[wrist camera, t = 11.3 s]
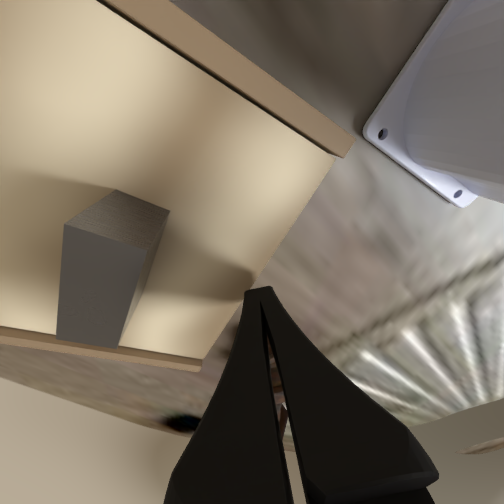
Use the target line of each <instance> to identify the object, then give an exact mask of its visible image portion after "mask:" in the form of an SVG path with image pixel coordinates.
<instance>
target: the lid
mask: <svg viewBox="0 0 504 504" xmlns="http://www.w3.org/2000/svg"><path fill="white" fill-rule="evenodd" d="M335 160H336V159H335V158H334V157H332V156H331V155H329V154H328V153H326V152H325V151H323V150H322V149H320V148H319V147H317V146H316V145H314V144H313V143H311V142H310V141H308V140H307V139H305V138H304V137H302V136H301V135H299V134H298V133H296V132H295V131H293V130H292V129H290V128H289V127H287V126H285V125H284V124H282V123H281V122H279V121H278V120H276V119H275V118H273V117H272V116H270V115H269V114H267V113H266V112H264V111H263V110H261V109H260V108H258V107H257V106H255V105H254V104H252V103H251V102H249V101H248V100H246V99H245V98H243V97H242V96H240V95H238V94H237V93H235V92H234V91H232V90H231V89H229V88H228V87H226V86H225V85H223V84H222V83H220V82H219V81H217V80H216V79H214V78H213V77H211V76H210V75H208V74H207V73H205V72H204V71H202V70H201V69H199V68H198V67H196V66H195V65H193V64H192V63H190V62H188V61H187V60H185V59H184V58H182V57H181V56H179V55H178V54H176V53H175V52H173V51H172V50H170V49H169V48H167V47H166V46H164V45H163V44H161V43H160V42H158V41H157V40H155V39H154V38H152V37H151V36H149V35H148V34H146V33H145V32H143V31H141V30H140V29H138V28H137V27H135V26H134V25H132V24H131V23H129V22H128V21H126V20H125V19H123V18H122V17H120V16H119V15H117V14H116V13H114V12H113V11H111V10H110V9H108V8H107V7H105V6H104V5H102V4H101V3H99V2H98V1H96V0H0V326H6V327H12V328H18V329H24V330H30V331H36V332H42V333H48V334H54V335H56V339H57V340H63V341H69V342H75V343H82V344H88V345H94V346H100V347H106V348H113V349H117V348H118V346H125V347H131V348H137V349H143V350H149V351H155V352H161V353H167V354H173V355H179V356H185V357H191V358H197V359H204V357H205V356H206V354H207V353H208V351H209V350H210V348H211V347H212V345H213V344H214V342H215V341H216V339H217V338H218V336H219V335H220V333H221V332H222V330H223V329H224V327H225V326H226V324H227V323H228V321H229V320H230V318H231V317H232V315H233V314H234V312H235V311H236V309H237V308H238V306H239V305H240V303H241V302H242V300H243V299H244V292H245V291H246V290H250V288H251V287H252V285H253V284H254V282H255V281H256V279H257V278H258V276H259V275H260V273H261V272H262V270H263V269H264V267H265V266H266V264H267V263H268V261H269V260H270V258H271V257H272V255H273V254H274V252H275V251H276V249H277V247H278V246H279V244H280V243H281V241H282V240H283V238H284V237H285V235H286V234H287V232H288V231H289V229H290V228H291V226H292V225H293V223H294V222H295V220H296V219H297V217H298V216H299V214H300V213H301V211H302V210H303V208H304V207H305V205H306V204H307V202H308V201H309V199H310V198H311V196H312V195H313V193H314V192H315V190H316V189H317V187H318V186H319V184H320V183H321V181H322V180H323V178H324V177H325V175H326V174H327V172H328V171H329V169H330V168H331V166H332V165H333V163H334V162H335Z"/></svg>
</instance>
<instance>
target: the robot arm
mask: <svg viewBox="0 0 504 504" xmlns="http://www.w3.org/2000/svg"><path fill="white" fill-rule="evenodd" d="M382 129H383V135H382V137H381V138H380V139H378V134H379V132H380V131H381V130H382ZM363 136H364V137H365V139H367V140H368V141H369V142H371V143H372V144H373V145H375V146H376V147H377V148H379V149H380V150H381V151H382V152H384V153H385V154H386V155H388V156H389V157H390V158H392V159H393V160H394V161H396V162H397V163H398V164H400V165H401V166H402V167H404V168H405V169H406V170H408V171H409V172H410V173H412V174H413V175H414V176H416V177H417V178H418V179H420V180H421V181H422V182H424V183H425V184H426V185H428V186H429V187H430V188H432V189H433V190H434V191H436V192H437V193H438V194H440V195H441V196H442V197H444V198H445V199H446V200H448V201H449V202H450V203H452V204H453V205H454V206H457V207H459V208H464V207H466V206H468V205H469V204H470V203H472V202H473V201H474V200H475V199H476V198H477V197H478V196H481V197H484V198H487V199H491V200H494V201H497V202H500V203H504V0H449V1H448V2H447V4H446V5H445V7H444V8H443V9H442V11H441V12H440V14H439V15H438V17H437V18H436V20H435V21H434V23H433V24H432V26H431V27H430V29H429V30H428V32H427V33H426V35H425V36H424V38H423V39H422V41H421V42H420V44H419V45H418V46H417V48H416V49H415V51H414V52H413V54H412V55H411V57H410V58H409V60H408V61H407V63H406V64H405V66H404V67H403V69H402V70H401V72H400V73H399V75H398V76H397V78H396V79H395V80H394V82H393V83H392V85H391V86H390V88H389V89H388V91H387V92H386V94H385V95H384V97H383V98H382V100H381V101H380V103H379V104H378V106H377V107H376V109H375V110H374V112H373V113H372V115H371V116H370V117H369V119H368V120H367V122H366V123H365V125H364V127H363ZM267 336H268V339H269V343H270V346H271V350H272V353H273V357H274V360H275V363H276V367H277V370H278V374H279V377H280V381H281V385H282V389H283V393H284V398H285V403H286V408H287V412H288V417H289V422H290V427H291V432H292V436H293V441H294V446H295V451H296V455H297V460H298V465H299V470H300V475H301V480H302V484H303V489H304V493H305V498H306V503H307V504H435V503H434V501H433V499H432V497H431V495H430V493H429V492H428V490H427V488H426V487H427V486H428V485H430V484H432V483H433V482H435V481H437V480H438V479H439V473H438V471H437V469H436V467H435V466H434V464H433V463H432V460H431V459H430V457H429V456H428V455H427V453H426V452H425V450H424V449H423V447H422V446H421V445H420V443H419V442H418V441H417V439H416V438H415V437H414V435H413V434H412V433H411V432H410V430H409V429H408V428H407V427H406V426H405V425H404V424H403V423H402V422H400V421H399V420H398V419H397V418H395V417H394V416H393V415H391V414H390V413H389V412H388V411H386V410H385V409H384V408H383V407H381V406H380V405H379V404H378V403H376V402H375V401H374V400H373V399H371V398H370V397H369V396H368V395H367V394H366V393H364V392H363V391H362V390H361V389H360V388H359V387H357V386H356V385H355V384H354V383H353V382H352V381H351V380H350V379H348V378H347V377H346V376H345V375H344V374H343V373H342V372H341V371H340V370H339V369H337V368H336V367H335V366H334V365H333V364H332V363H331V362H330V361H329V360H328V359H327V358H326V357H325V356H324V355H323V354H322V353H321V352H320V351H319V350H318V349H317V348H316V347H315V346H314V345H313V343H312V342H311V341H310V340H309V339H308V338H307V337H306V336H305V334H304V333H303V332H302V331H301V330H300V328H299V327H298V326H297V325H296V323H295V322H294V321H293V320H292V318H291V317H290V315H289V314H288V313H287V311H286V310H285V309H284V307H283V306H282V304H281V302H280V301H279V299H278V298H277V296H276V294H275V292H274V290H273V288H272V287H271V286H266V287H261V288H256V289H251V290H246V291H245V292H244V302H243V309H242V314H241V318H240V322H239V327H238V330H237V334H236V337H235V340H234V344H233V347H232V350H231V353H230V356H229V358H228V361H227V364H226V366H225V369H224V371H223V374H222V376H221V379H220V381H219V383H218V386H217V388H216V390H215V392H214V395H213V397H212V399H211V401H210V403H209V405H208V407H207V409H206V411H205V413H204V415H203V417H202V419H201V421H200V423H199V425H198V427H197V429H196V431H195V432H194V434H193V436H192V438H191V440H190V442H189V444H188V445H187V447H186V449H185V451H184V452H183V454H182V456H181V457H180V459H179V461H178V463H177V464H176V466H175V468H174V470H173V472H172V474H171V478H170V481H169V484H168V488H167V491H166V495H165V499H164V504H294V501H293V496H292V490H291V485H290V479H289V474H288V469H287V464H286V459H285V453H284V447H283V442H282V436H281V431H280V425H279V420H278V414H277V409H276V403H275V398H274V392H273V386H272V378H271V368H270V359H269V349H268V339H267Z"/></svg>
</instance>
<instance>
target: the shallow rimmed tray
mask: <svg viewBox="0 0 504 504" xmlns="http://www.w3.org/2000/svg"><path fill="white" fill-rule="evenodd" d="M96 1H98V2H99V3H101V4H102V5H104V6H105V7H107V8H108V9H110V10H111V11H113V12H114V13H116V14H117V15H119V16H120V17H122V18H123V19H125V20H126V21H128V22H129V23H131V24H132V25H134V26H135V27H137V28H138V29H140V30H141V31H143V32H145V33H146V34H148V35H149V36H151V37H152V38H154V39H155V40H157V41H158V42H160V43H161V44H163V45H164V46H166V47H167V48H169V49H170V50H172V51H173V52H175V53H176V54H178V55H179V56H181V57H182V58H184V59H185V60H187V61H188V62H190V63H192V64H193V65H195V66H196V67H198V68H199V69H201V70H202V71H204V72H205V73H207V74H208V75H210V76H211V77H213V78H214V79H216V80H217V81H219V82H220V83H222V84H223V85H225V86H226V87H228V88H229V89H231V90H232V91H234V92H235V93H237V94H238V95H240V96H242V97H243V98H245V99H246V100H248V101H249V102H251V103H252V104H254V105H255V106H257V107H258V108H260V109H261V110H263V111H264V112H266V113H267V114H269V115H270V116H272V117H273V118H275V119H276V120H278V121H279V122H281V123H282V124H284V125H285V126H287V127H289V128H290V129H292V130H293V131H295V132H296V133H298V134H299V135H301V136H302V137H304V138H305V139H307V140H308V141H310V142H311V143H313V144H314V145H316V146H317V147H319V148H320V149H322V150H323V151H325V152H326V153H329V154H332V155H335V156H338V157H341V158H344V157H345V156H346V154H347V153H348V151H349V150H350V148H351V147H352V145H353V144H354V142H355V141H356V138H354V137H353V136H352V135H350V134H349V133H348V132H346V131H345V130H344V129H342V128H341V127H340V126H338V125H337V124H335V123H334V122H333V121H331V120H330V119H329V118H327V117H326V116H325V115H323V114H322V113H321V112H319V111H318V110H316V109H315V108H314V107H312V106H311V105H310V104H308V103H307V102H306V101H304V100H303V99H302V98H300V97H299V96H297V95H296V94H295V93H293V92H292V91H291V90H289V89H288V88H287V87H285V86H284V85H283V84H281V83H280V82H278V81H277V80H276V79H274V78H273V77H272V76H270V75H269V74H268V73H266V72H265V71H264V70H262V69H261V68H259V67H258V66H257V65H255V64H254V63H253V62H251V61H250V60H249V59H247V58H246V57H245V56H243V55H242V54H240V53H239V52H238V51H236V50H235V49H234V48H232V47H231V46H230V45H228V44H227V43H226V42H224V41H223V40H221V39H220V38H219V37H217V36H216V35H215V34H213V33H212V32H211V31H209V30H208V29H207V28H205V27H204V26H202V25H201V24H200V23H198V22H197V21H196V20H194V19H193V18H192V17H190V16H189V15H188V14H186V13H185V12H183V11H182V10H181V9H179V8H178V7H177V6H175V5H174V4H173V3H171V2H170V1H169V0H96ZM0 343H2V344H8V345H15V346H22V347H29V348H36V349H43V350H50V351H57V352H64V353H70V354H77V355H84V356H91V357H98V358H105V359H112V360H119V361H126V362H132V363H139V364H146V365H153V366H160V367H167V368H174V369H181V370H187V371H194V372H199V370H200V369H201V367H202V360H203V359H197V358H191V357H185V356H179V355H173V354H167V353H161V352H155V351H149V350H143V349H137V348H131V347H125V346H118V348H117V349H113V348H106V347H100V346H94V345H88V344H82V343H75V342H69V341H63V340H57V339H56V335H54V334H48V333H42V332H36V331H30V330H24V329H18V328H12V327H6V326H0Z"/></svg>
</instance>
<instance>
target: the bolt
mask: <svg viewBox="0 0 504 504" xmlns="http://www.w3.org/2000/svg"><path fill="white" fill-rule="evenodd" d="M267 339H268V336H267ZM268 349H269V359H270V368H271V378H272V386H273V392H274V398H275V403H276V409H277V414H278V420H279V425H280V431H281V436H282V440H283V436H284V432H285V428H286V424H287V419H288V412H287V410H286V409H285V407H284V406H283V405H282V403H283V402H285V398H284V393H283V389H282V385H281V381H280V377H279V374H278V370H277V367H276V363H275V360H274V357H273V353H272V350H271V346H270V343H269V339H268Z"/></svg>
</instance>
